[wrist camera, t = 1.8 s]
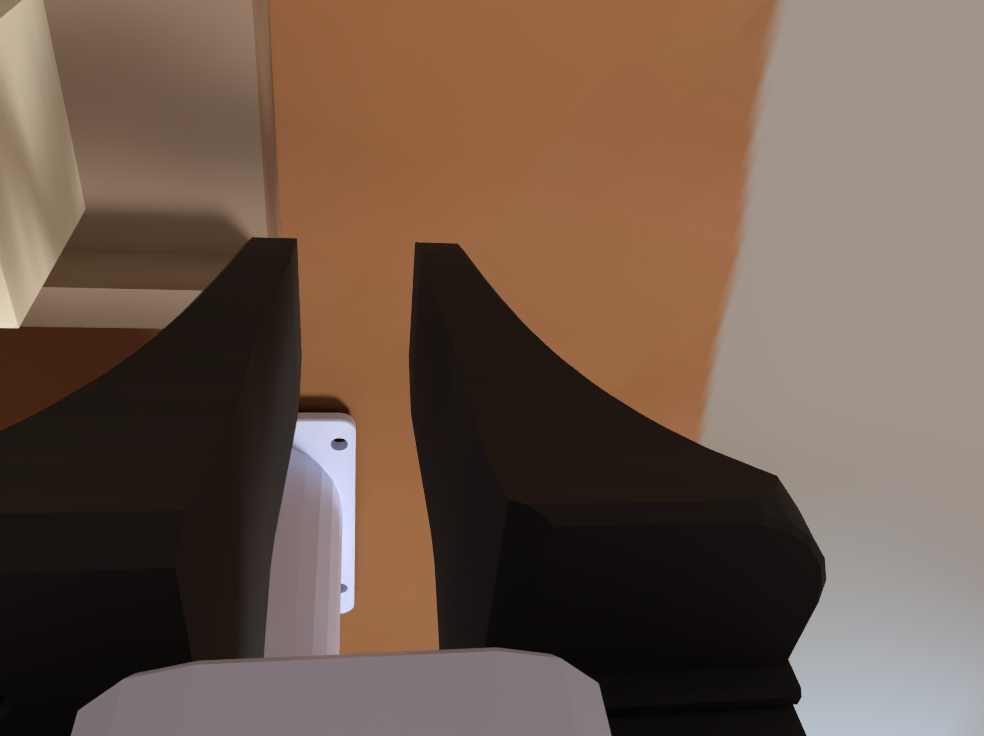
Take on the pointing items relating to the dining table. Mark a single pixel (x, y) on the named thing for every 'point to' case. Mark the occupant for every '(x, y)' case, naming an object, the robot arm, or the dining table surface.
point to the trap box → (160, 154)
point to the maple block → (32, 160)
